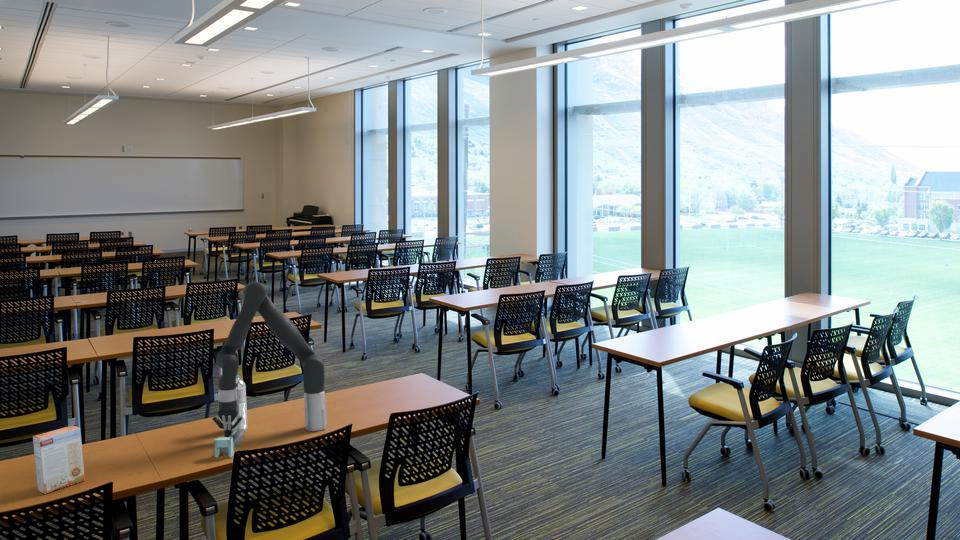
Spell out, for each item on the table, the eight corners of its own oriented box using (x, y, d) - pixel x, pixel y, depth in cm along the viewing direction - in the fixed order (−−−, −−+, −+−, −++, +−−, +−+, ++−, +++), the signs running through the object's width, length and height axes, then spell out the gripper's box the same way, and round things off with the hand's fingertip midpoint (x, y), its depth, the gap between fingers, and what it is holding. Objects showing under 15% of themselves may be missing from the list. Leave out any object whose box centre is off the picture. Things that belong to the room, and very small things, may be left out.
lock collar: (231, 457, 278) (230, 439, 277) (214, 457, 278) (213, 440, 277) (233, 454, 281) (232, 437, 280) (217, 454, 281) (216, 437, 280)
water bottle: (242, 432, 307) (240, 378, 304) (228, 431, 308) (226, 377, 306) (250, 427, 314) (248, 374, 311) (236, 426, 315) (234, 373, 312)
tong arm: (228, 450, 285) (227, 441, 285) (224, 450, 285) (224, 441, 285) (239, 437, 301) (239, 428, 301) (236, 437, 301) (236, 428, 301)
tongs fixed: (230, 454, 281) (229, 444, 281) (221, 454, 281) (220, 444, 281) (244, 437, 301) (243, 428, 301) (235, 437, 301) (235, 428, 301)
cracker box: (77, 477, 259) (73, 424, 257) (85, 481, 256) (81, 427, 253) (36, 491, 248) (32, 435, 245) (44, 495, 244) (39, 438, 242)
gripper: (245, 396, 299) (246, 434, 301) (214, 396, 298) (215, 434, 300) (240, 401, 292) (241, 440, 294) (209, 401, 291) (209, 440, 293)
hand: (228, 437), depth 297 cm, fingers closed
